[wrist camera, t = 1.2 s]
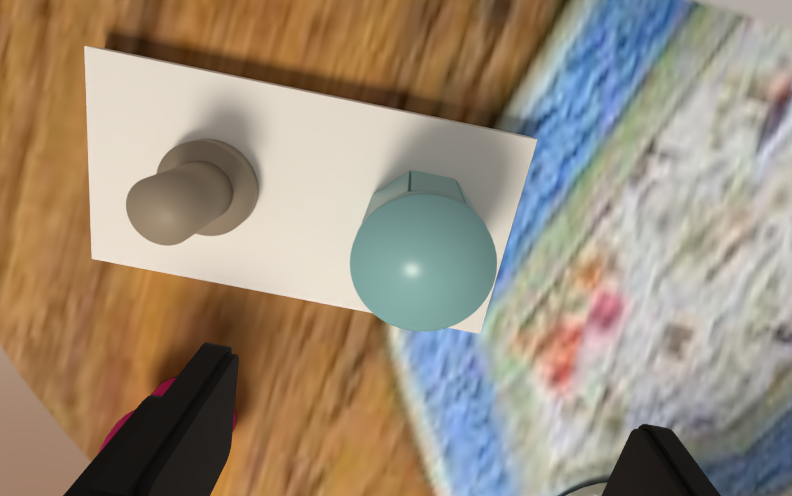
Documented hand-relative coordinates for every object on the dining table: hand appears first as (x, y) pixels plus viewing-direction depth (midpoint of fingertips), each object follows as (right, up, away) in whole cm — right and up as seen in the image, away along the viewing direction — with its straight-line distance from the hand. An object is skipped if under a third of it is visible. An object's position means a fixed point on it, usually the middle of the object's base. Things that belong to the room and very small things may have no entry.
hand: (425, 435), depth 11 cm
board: (-6, +7, +17) cm, 19 cm away
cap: (+1, +6, +16) cm, 17 cm away
